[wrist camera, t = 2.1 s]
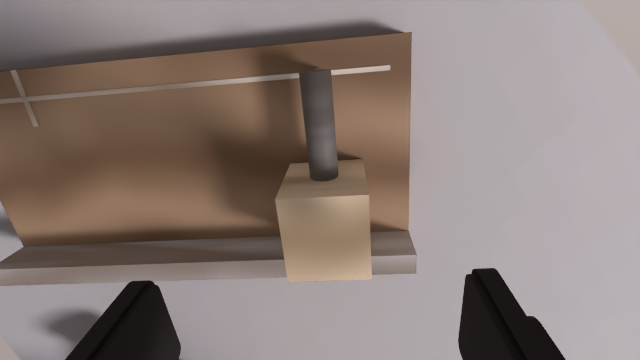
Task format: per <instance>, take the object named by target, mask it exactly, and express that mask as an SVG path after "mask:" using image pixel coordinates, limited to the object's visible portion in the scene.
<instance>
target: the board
mask: <svg viewBox="0 0 640 360" xmlns="http://www.w3.org/2000/svg"><path fill="white" fill-rule="evenodd" d="M411 37H412V32H407V33H396V34H386V35H375V36H365V37H355V38H344V39H334V40H323V41H313V42H303V43H292V44H282V45H271V46H261V47H250V48H240V49H230V50H219V51H209V52H198V53H188V54H178V55H167V56H157V57H146V58H136V59H126V60H115V61H105V62H94V63H84V64H74V65H63V66H53V67H42V68H32V69H22V70H11V71H1V72H0V201H1V203H2V205H3V207H4V209H5V211H6V213H7V215H8V217H9V219H10V220H11V222H12V224H13V226H14V228H15V230H16V232H17V234H18V236H19V238H20V240H21V242H22V244H23V246H24V247H23V248H21V249H20V250H18V251H17V252H15V253H14V254H12V255H10V256H9V257H7V258H6V259H4V260H3V261H1V262H0V286H11V285H44V284H78V283H111V282H131V281H144V280H150V281H178V280H212V279H245V278H278V277H287V273H286V267H285V260H284V254H283V248H282V241H281V235H280V228H279V222H278V216H277V209H276V203H275V199H276V196H277V194H278V191H279V189H280V187H281V184H282V182H283V180H284V177H285V175H286V173H287V170H288V168H289V165H290V164H292V163H308V153H307V144H306V135H305V126H304V116H303V107H302V98H301V89H300V79H299V72H304V71H311V70H314V69H316V68H322V69H330V70H331V77H332V91H333V105H334V119H335V133H336V146H337V160H338V161H340V160H356V159H363V162H364V168H365V174H366V180H367V186H368V192H369V211H370V239H371V268H372V275H379V274H412V273H416V260H417V254H416V252H415V249H414V246H413V243H412V240H411V237H410V234H409V231H408V223H409V161H410V99H411Z"/></svg>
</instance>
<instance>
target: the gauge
mask: <svg viewBox="0 0 640 360" xmlns="http://www.w3.org/2000/svg"><path fill="white" fill-rule="evenodd" d="M299 79H300V89H301V98H302V107H303V116H304V126H305V135H306V144H307V153H308V163H292V164H290V165H289V168H288V170H287V173H286V175H285V177H284V180H283V182H282V184H281V187H280V189H279V191H278V194H277V196H276V199H275V203H276V209H277V216H278V222H279V228H280V235H281V241H282V248H283V254H284V260H285V267H286V273H287V280H288V282H300V281H335V280H369V279H372V268H371V239H370V211H369V192H368V186H367V180H366V174H365V168H364V162H363V159H356V160H340V161H338V160H337V146H336V133H335V119H334V105H333V91H332V77H331V70H330V69H322V68H316V69H314V70H311V71H304V72H299Z"/></svg>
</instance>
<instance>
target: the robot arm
mask: <svg viewBox="0 0 640 360" xmlns="http://www.w3.org/2000/svg"><path fill="white" fill-rule="evenodd" d="M458 342H459V349H460V353H461V356H462V358H463V360H565V358H564V357H563V355H562V354H561V352H560V351H559V349H558V348H557V346H556V345H555V343H554V342H553V341H552V339H551V338H550V336H549V335H548V333H547V332H546V330H545V329H544V327H543V326H542V324H541V323H540V322H539V321H538V320H537V319H536V318H535V317H533V316H526V314H525V313H524V311H523V310H522V308H521V307H520V305H519V303H518V302H517V300H516V299H515V297H514V296H513V294H512V293H511V291H510V290H509V288H508V286H507V285H506V283H505V282H504V280H503V279H502V277H501V276H500V274H499V273H498V271H497V270H496V269H494V268H487V269H473V270H472V274H467V275H466V278H465V286H464V295H463V304H462V312H461V321H460V330H459V339H458ZM180 350H181V346H180V342H179V339H178V337H177V334H176V331H175V329H174V326H173V323H172V321H171V318H170V315H169V313H168V310H167V307H166V305H165V302H164V299H163V297H162V294H161V291H160V288H159V287H158V286H157V285H155V284H154V282H152V281H150V280H144V281H131V282H130V283H128V284H127V286H126V287H125V288H124V289H123V290H122V292H121V293H120V294H119V295H118V296H117V298H116V299H115V300H114V301H113V302H112V304H111V305H110V306H109V307H108V309H107V310H106V311H105V312H104V313H103V315H102V316H101V317H100V318H99V319H98V321H97V322H96V323H95V324H94V325H93V327H92V328H91V329H90V330H89V332H88V333H87V334H86V335H85V336H84V338H83V339H82V340H81V341H80V342H79V344H78V345H77V346H76V347H75V348H74V350H73V351H72V352H71V353H70V354H69V356H68V357H67V358H66V359H65V360H178V358H179V355H180Z"/></svg>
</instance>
